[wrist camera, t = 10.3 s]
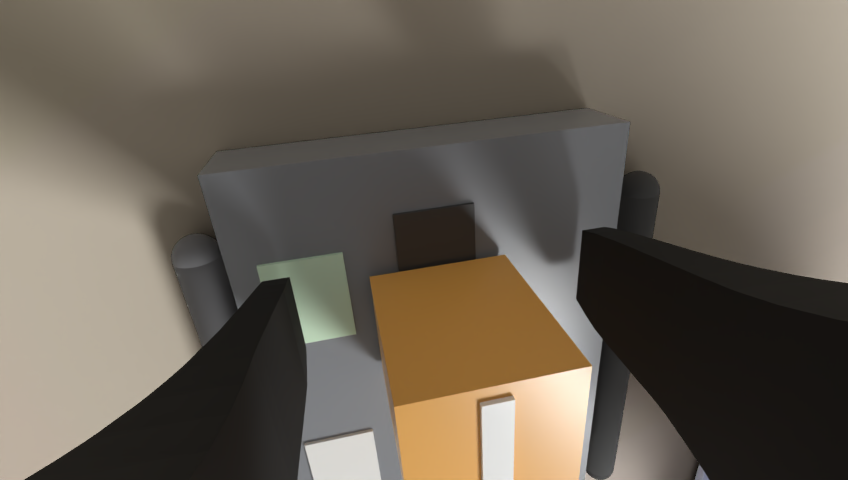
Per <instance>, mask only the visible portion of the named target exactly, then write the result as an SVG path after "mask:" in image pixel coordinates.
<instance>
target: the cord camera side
mask: <svg viewBox="0 0 848 480" xmlns="http://www.w3.org/2000/svg"><path fill="white" fill-rule="evenodd" d="M171 260H172V265H173V267H174V270H175V273H176V276H177V278H178V281H179V284H180V287H181V289H182V292H183V295H184V298H185V301H186V303H187V306H188V309H189V312H190V314H191V317H192V320H193V323H194V325H195V328H196V331H197V334H198V336H199V339H200V342H201V345H202V347H203V346H204V345H205V344H206V343H207V342H208V341H209V340H210V339H211V338H212V337H213V336H214V335H215V334H216V333H217V332H218V331H219V330H220V329H221V328H222V327H223V326H224V324H225V323H226V322H227V321H228V320H229V319H230V318H231V317H232V315H233V314H234V313H235V312H236V311H237V310H238V308H237V305H236V301H235V298H234V295H233V291H232V288H231V285H230V281H229V278H228V275H227V272H226V268H225V265H224V262H223V258H222V255H221V252H220V249H219V245H218V242H217V241H216V240H214V239H213V238H212V237H210V236H208V235H204V234H190V235H187V236H185V237H183V238H182V239H180V240H179V241H178V242H177V243H176V244H175V246H174V248H173V250H172V254H171Z"/></svg>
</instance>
